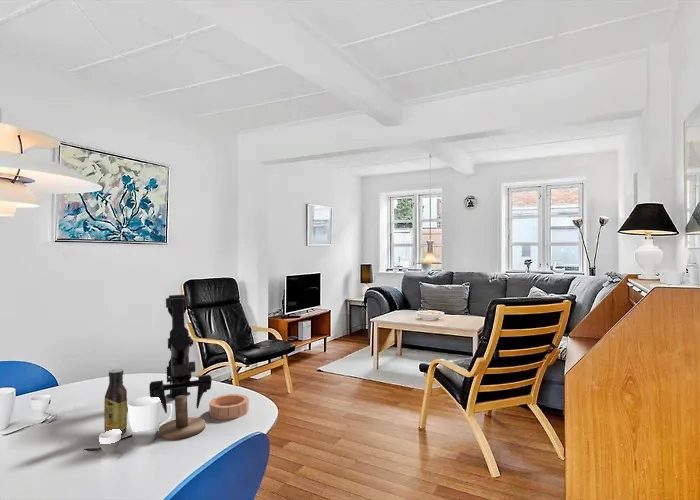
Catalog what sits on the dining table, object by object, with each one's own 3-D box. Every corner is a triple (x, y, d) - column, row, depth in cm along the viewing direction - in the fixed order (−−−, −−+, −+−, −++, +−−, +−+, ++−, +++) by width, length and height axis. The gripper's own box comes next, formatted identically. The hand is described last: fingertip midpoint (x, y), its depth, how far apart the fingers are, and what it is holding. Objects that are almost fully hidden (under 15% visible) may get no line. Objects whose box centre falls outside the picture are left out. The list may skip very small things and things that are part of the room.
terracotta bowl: (201, 414, 148) (201, 403, 148) (229, 402, 159) (229, 391, 159) (228, 422, 142) (228, 410, 142) (255, 409, 153) (255, 398, 153)
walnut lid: (148, 435, 133) (146, 401, 133) (184, 418, 145) (182, 387, 145) (179, 443, 127) (178, 408, 127) (214, 424, 139) (213, 392, 139)
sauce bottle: (101, 433, 134) (100, 370, 134) (122, 427, 138) (122, 366, 138) (108, 439, 129) (107, 374, 129) (130, 433, 134) (129, 369, 134)
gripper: (149, 356, 136) (148, 403, 126) (210, 350, 143) (214, 393, 133) (150, 374, 143) (149, 419, 133) (208, 367, 150) (212, 410, 140)
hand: (182, 410), depth 135 cm, fingers open, 9 cm apart
